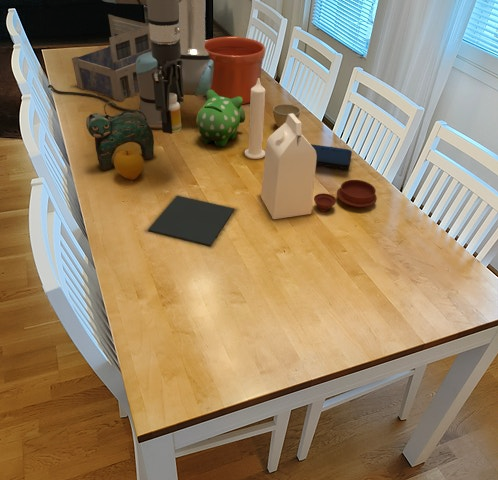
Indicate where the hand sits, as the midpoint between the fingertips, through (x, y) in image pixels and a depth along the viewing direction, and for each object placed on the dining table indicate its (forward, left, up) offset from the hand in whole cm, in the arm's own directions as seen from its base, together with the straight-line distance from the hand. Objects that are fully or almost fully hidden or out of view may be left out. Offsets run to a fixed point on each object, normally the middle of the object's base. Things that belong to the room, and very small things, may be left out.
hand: (172, 128), depth 133 cm
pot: (-6, +69, -16) cm, 71 cm away
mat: (+15, -20, -15) cm, 29 cm away
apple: (-12, -6, -16) cm, 21 cm away
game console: (+43, +26, -16) cm, 52 cm away
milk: (+37, -3, -16) cm, 40 cm away
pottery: (+53, +4, -16) cm, 55 cm away
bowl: (+23, +47, -16) cm, 54 cm away
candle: (+19, +23, -16) cm, 33 cm away
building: (-54, +58, -16) cm, 81 cm away
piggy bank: (+4, +29, -16) cm, 33 cm away
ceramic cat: (-19, +1, -16) cm, 24 cm away
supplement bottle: (0, 0, -1) cm, 1 cm away
